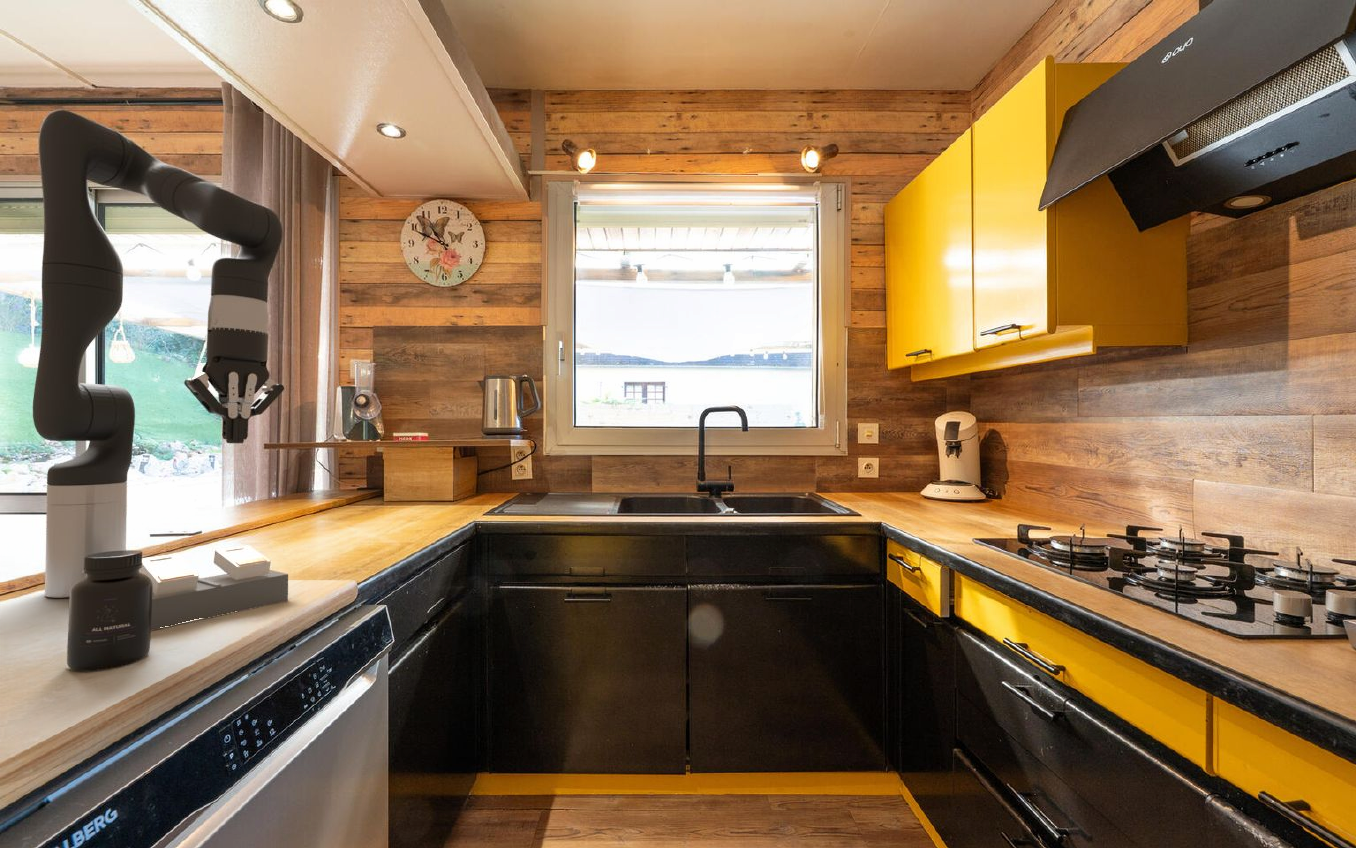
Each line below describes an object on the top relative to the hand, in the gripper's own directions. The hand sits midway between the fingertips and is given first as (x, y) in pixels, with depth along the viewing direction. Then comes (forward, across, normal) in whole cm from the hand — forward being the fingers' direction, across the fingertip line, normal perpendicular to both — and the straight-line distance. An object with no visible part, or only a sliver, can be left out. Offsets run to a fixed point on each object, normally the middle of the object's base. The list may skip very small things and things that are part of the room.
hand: (234, 443), depth 92 cm
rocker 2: (+18, 0, +3) cm, 18 cm away
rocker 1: (+18, +9, +3) cm, 20 cm away
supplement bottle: (+24, +18, +17) cm, 34 cm away
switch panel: (+24, +4, +4) cm, 25 cm away
